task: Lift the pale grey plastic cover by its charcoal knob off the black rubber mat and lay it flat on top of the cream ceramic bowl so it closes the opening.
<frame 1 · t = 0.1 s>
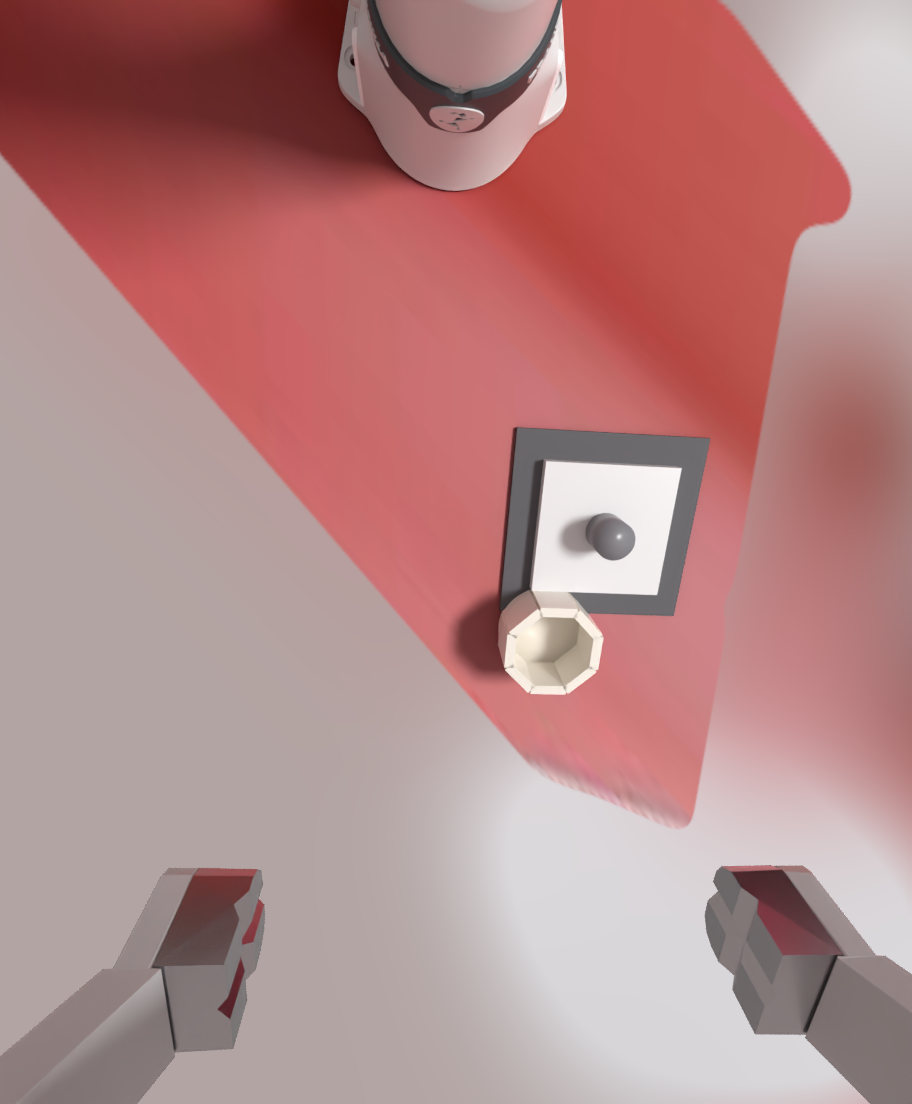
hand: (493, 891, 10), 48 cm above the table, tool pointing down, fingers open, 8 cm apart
bowl: (541, 626, 62), on the table
mat: (599, 527, 58), on the table
cover: (600, 528, 58), resting on mat
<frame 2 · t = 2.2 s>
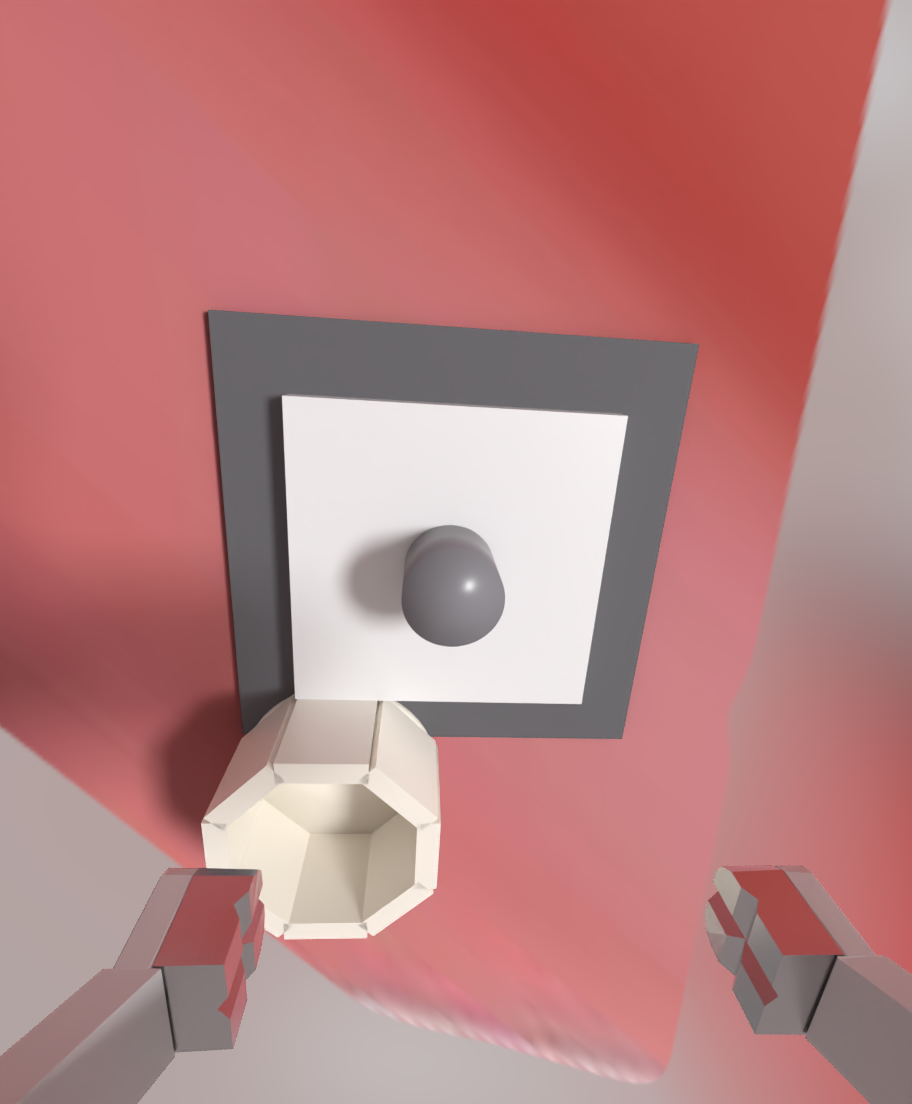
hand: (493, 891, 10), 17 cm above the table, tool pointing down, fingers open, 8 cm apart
bowl: (342, 761, 29), on the table
mat: (447, 555, 26), on the table
cover: (448, 558, 25), resting on mat
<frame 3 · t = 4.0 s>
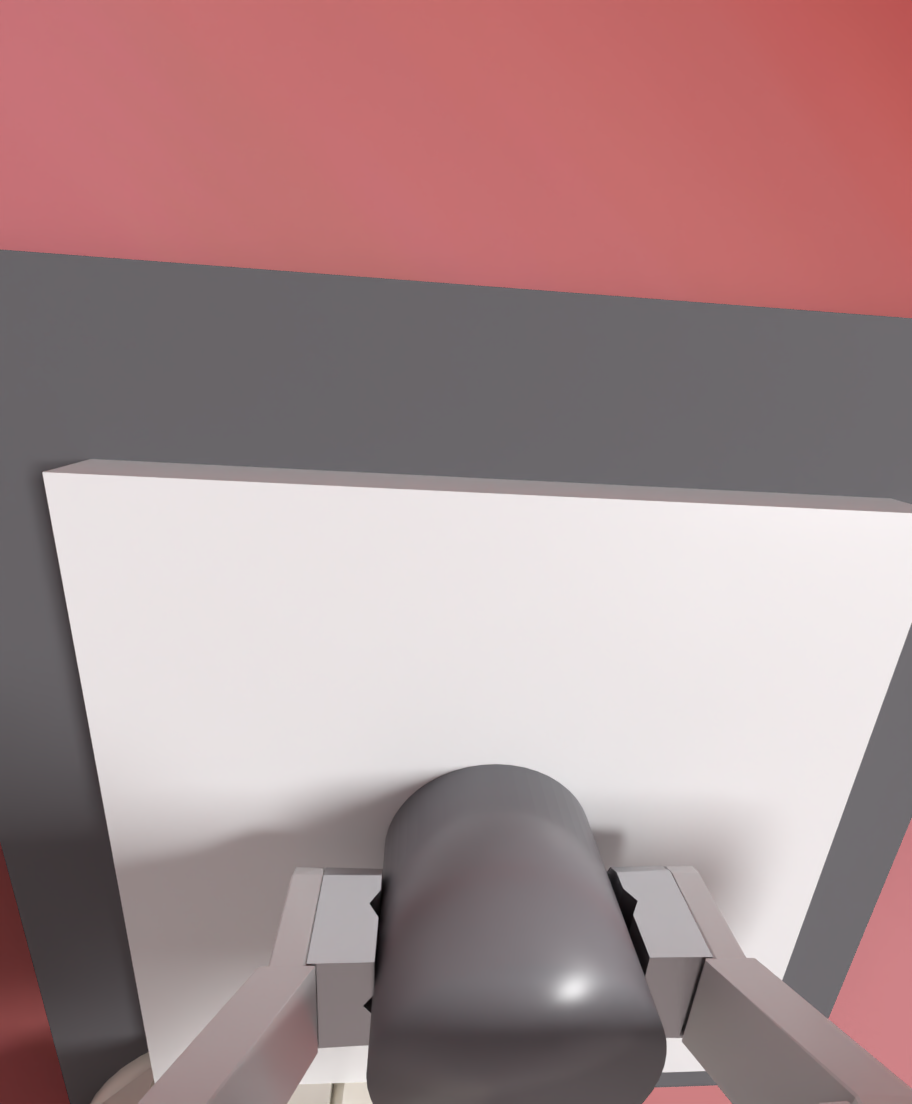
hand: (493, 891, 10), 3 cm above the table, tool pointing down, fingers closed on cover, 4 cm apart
mat: (480, 788, 12), on the table
cover: (481, 801, 12), resting on mat, touching gripper
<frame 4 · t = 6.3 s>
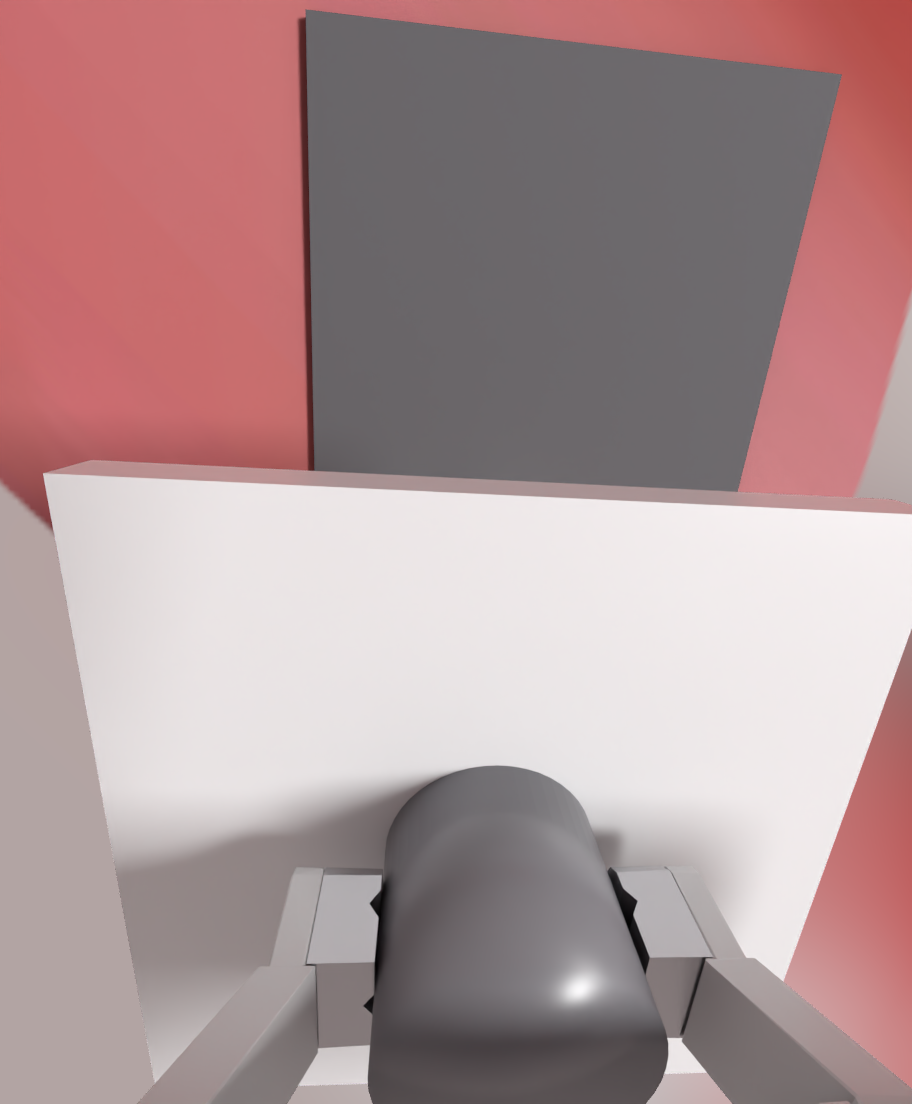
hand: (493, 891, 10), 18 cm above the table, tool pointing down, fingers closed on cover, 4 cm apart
mat: (547, 337, 23), on the table
cover: (482, 803, 12), point 16 cm above the table, touching gripper
when the fingers open (10 cm above the table, at t = 8.7 s): cover drops 1 cm, resting on bowl.
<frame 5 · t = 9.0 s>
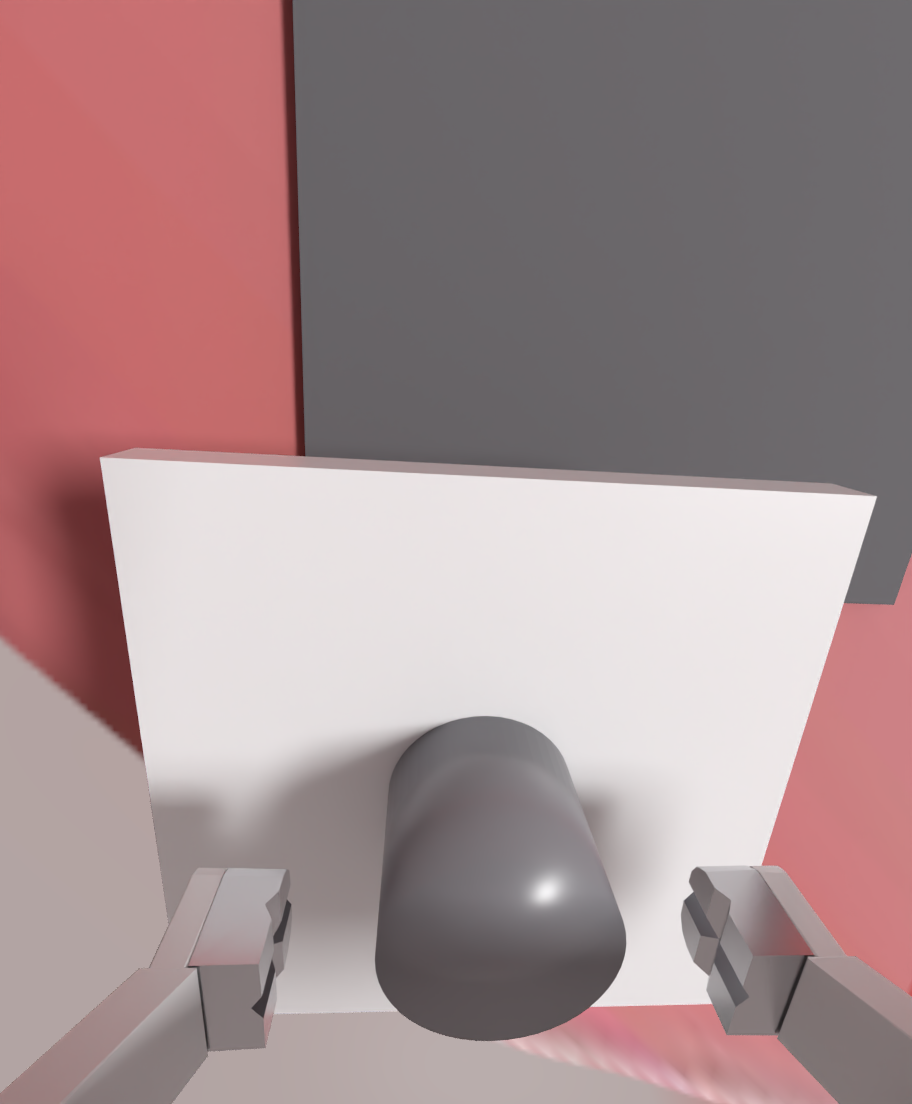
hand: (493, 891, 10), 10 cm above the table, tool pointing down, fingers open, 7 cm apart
mat: (662, 263, 15), on the table
cover: (475, 756, 13), point 6 cm above the table, touching bowl
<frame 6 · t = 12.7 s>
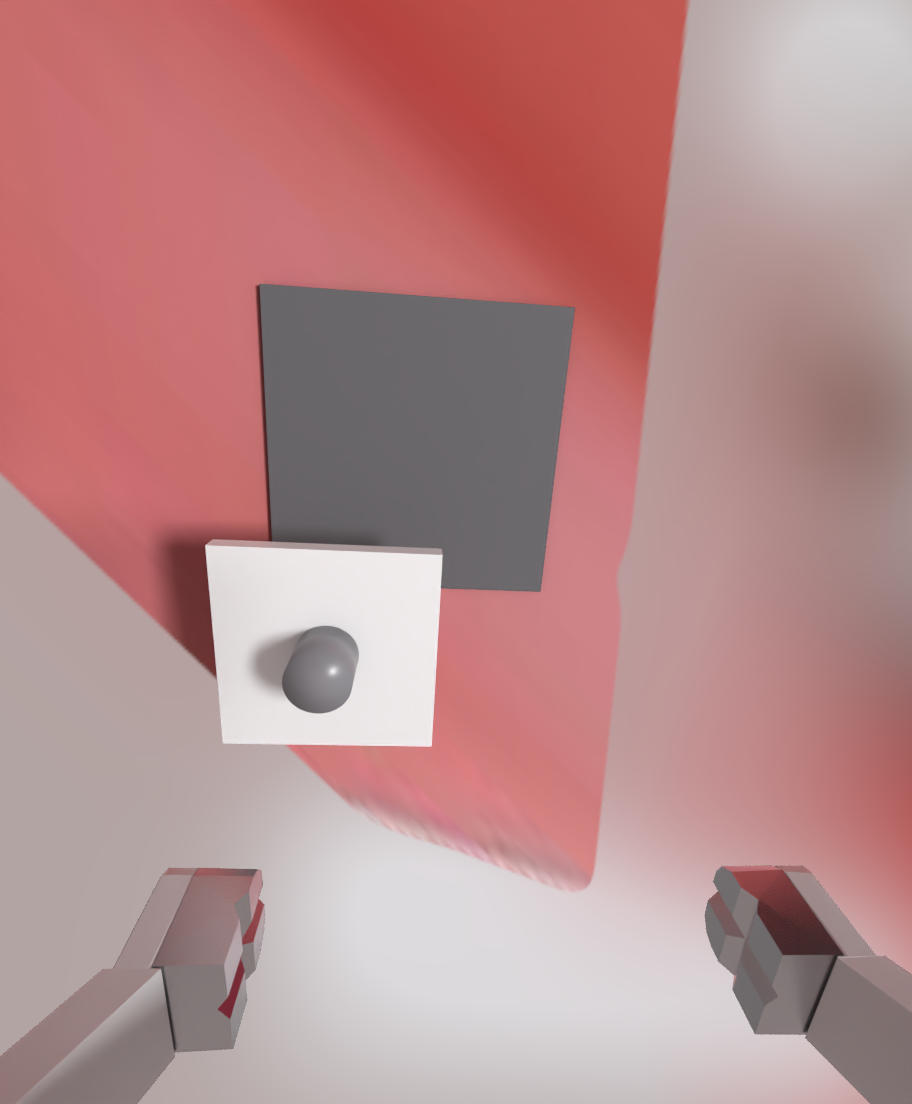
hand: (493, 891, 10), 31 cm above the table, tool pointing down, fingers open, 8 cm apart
mat: (414, 452, 38), on the table
cover: (330, 644, 36), point 6 cm above the table, touching bowl
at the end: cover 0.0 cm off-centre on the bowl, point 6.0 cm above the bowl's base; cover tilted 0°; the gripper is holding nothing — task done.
